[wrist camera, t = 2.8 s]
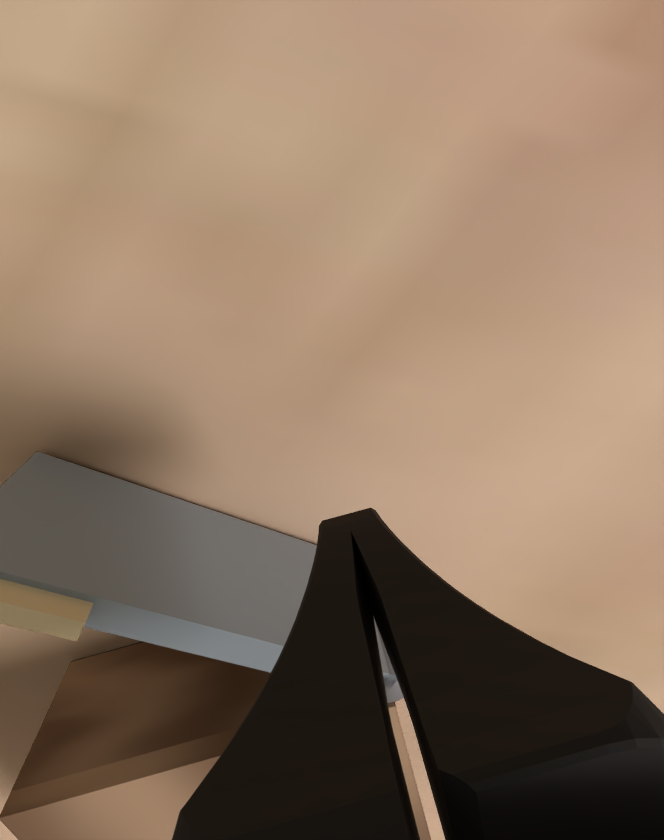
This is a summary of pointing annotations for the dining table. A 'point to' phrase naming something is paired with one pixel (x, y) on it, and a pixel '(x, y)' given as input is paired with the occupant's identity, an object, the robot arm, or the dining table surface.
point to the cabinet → (138, 745)
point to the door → (147, 568)
